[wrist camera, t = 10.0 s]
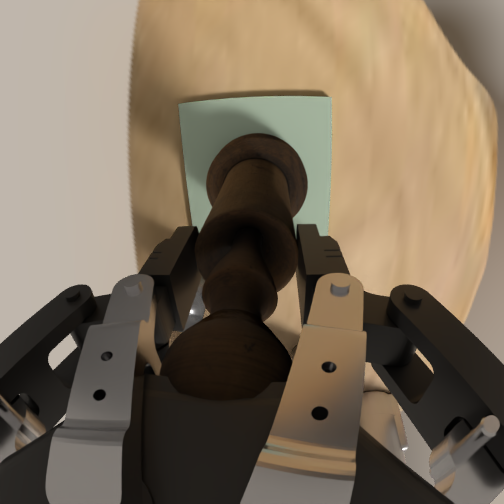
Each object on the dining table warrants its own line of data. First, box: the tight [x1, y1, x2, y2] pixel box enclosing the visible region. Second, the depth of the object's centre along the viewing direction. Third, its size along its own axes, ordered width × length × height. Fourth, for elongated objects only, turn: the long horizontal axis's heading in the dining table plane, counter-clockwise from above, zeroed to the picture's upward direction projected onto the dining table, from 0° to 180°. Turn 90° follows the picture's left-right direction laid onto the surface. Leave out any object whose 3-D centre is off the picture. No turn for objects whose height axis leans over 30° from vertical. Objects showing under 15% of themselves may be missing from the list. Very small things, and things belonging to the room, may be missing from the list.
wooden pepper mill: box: [159, 133, 308, 401], centre depth 13 cm, size 7×6×18 cm
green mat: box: [178, 96, 332, 236], centre depth 22 cm, size 11×12×1 cm
